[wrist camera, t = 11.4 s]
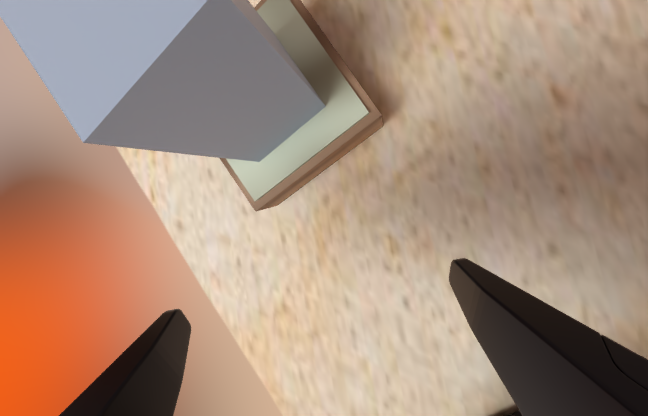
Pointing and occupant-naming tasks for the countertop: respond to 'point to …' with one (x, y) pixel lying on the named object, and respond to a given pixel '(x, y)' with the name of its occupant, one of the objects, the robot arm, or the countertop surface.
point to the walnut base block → (320, 131)
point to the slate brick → (166, 73)
